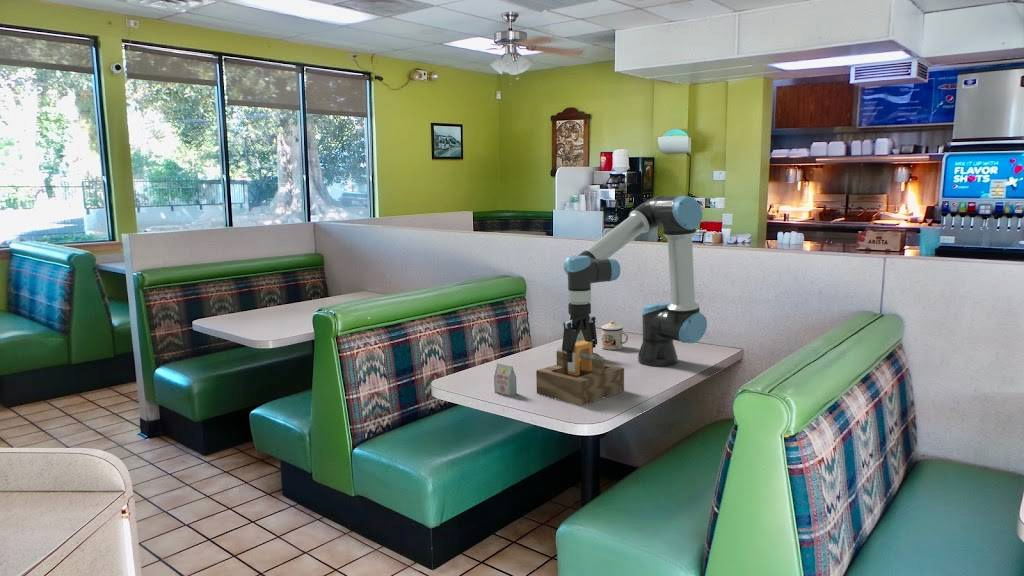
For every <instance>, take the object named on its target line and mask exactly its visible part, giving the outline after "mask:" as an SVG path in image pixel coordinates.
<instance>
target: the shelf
mask: <svg viewBox="0 0 1024 576" xmlns="http://www.w3.org/2000/svg"><path fill="white" fill-rule="evenodd" d="M581 358H583V359H587V360H592V371H590V372H589V371H585V370H581ZM535 372H536V376H535V377H536V394H538V395H542V396H544V395H545V397H548V396H549V398H551V397H552V398H551V399H555V398H556V399H555V400H558V399H559V401H562V402H566V403H568V404H572V403H573V405H575V404H576V406H580V407H582V405H583V406H585V405H584V404H586V405H588V404H591V403H594V402H596V401H595V400H597V401H599V400H598V399H600V400H602V399H604V398H603V397H605V398H607V397H606V396H608V397H610V396H609V395H611V396H613V395H612V394H614V395H616V394H615V393H617V394H619V393H621V391H622V392H624V391H625V368H624V367H621V366H618V365H612V364H607V363H606V358H605V357H604V356H601V355H600V356H597V355H592V354H588V353H583V352H580V375H577V376H576V375H572V374H568V362H567V353H566V352H565V351H562V347H558V348H557V350H556V364H554V365H550V366H547V367H543V368H540V369H536V371H535ZM618 392H619V393H618ZM601 398H602V399H601ZM593 401H594V402H593ZM590 402H591V403H590ZM587 403H588V404H587Z"/></svg>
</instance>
